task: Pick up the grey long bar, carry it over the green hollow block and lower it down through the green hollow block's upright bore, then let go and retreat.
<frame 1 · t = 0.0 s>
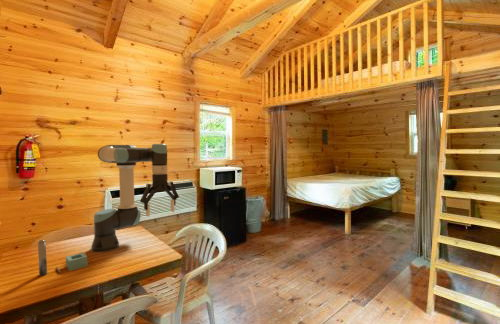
hand: (160, 213, 138), 28 cm above the table, fingers open, 13 cm apart
lace: (58, 270, 133), on the table
grey long bar: (43, 274, 129), on the table
green hollow block: (76, 265, 139), on the table
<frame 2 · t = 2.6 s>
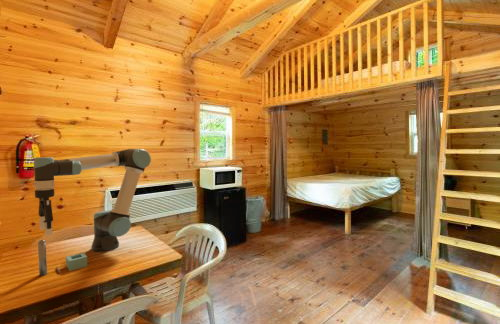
hand: (45, 232, 128), 21 cm above the table, fingers open, 13 cm apart
nothing on the table moved.
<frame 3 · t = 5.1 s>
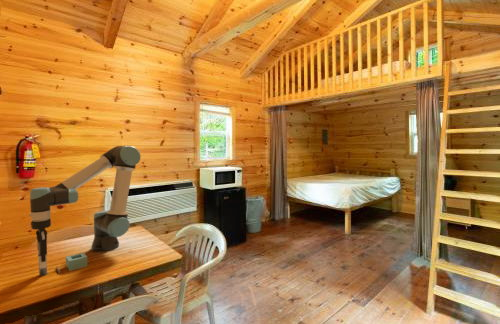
hand: (42, 266, 129), 4 cm above the table, fingers closed on grey long bar, 3 cm apart
grey long bar: (43, 274, 129), on the table, touching gripper
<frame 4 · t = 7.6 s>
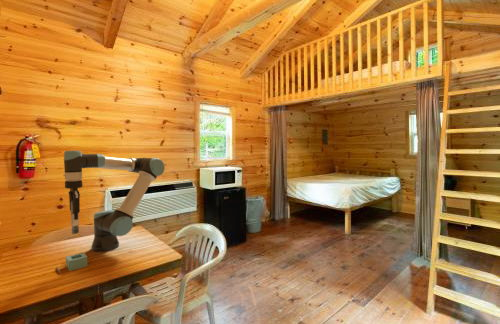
hand: (75, 224, 137), 22 cm above the table, fingers closed on grey long bar, 3 cm apart
grey long bar: (75, 232, 138), point 18 cm above the table, touching gripper
when the fingers open (6 cm above the table, at t = 10.0 s): grey long bar drops 2 cm, resting in green hollow block.
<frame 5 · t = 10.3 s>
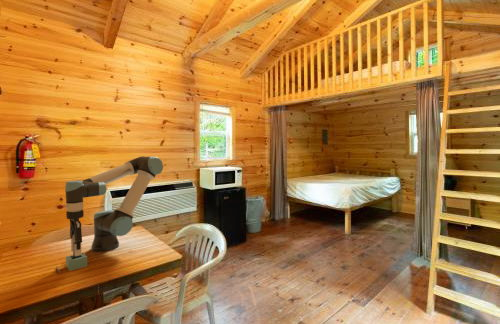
hand: (76, 252, 138), 7 cm above the table, fingers open, 8 cm apart
grey long bar: (76, 265, 139), resting in green hollow block
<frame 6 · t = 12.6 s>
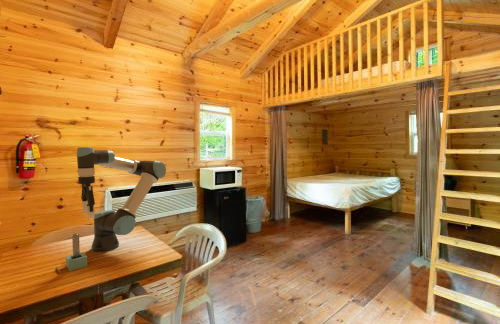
hand: (88, 215, 141), 26 cm above the table, fingers open, 13 cm apart
nothing on the table moved.
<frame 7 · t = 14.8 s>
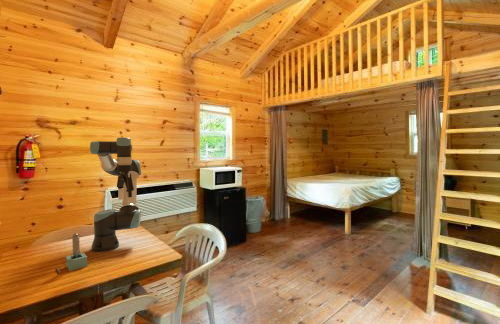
hand: (125, 201, 151), 32 cm above the table, fingers open, 13 cm apart
nothing on the table moved.
at the end: grey long bar 0.0 cm off-centre on the green hollow block, point 0.0 cm above the green hollow block's base; grey long bar tilted 0°; the gripper is holding nothing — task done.
